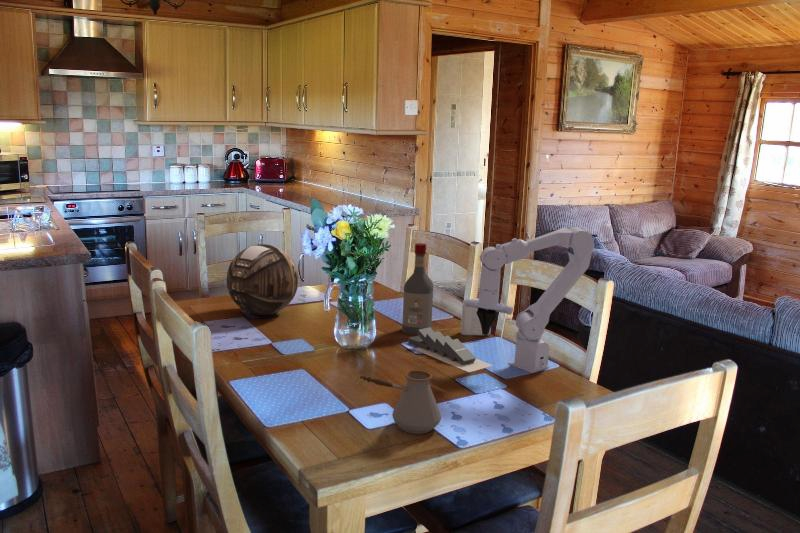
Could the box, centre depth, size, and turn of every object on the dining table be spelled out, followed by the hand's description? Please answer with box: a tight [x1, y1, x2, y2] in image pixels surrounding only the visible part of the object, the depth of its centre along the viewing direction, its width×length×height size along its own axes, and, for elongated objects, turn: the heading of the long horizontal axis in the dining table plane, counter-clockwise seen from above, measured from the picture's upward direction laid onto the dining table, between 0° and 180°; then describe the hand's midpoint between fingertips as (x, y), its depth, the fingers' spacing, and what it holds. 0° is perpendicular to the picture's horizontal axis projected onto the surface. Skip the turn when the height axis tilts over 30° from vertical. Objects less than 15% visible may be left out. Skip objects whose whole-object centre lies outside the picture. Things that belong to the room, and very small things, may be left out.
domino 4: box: [435, 335, 457, 361], centre depth 212 cm, size 2×5×9 cm
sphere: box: [226, 243, 300, 316], centre depth 247 cm, size 25×25×25 cm
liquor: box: [401, 242, 434, 336], centre depth 233 cm, size 9×9×30 cm
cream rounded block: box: [460, 297, 492, 336], centre depth 234 cm, size 10×4×12 cm, turn 98°
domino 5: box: [444, 338, 477, 365], centre depth 209 cm, size 2×5×9 cm
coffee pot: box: [356, 369, 442, 435], centre depth 160 cm, size 21×12×15 cm, turn 120°
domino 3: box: [425, 330, 447, 357], centre depth 215 cm, size 2×5×9 cm
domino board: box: [414, 347, 494, 373], centre depth 211 cm, size 24×10×1 cm, turn 39°
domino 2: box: [417, 326, 438, 353], centre depth 218 cm, size 2×5×9 cm
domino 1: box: [407, 335, 431, 350], centre depth 221 cm, size 2×5×9 cm
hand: (485, 333), depth 204 cm, fingers closed
